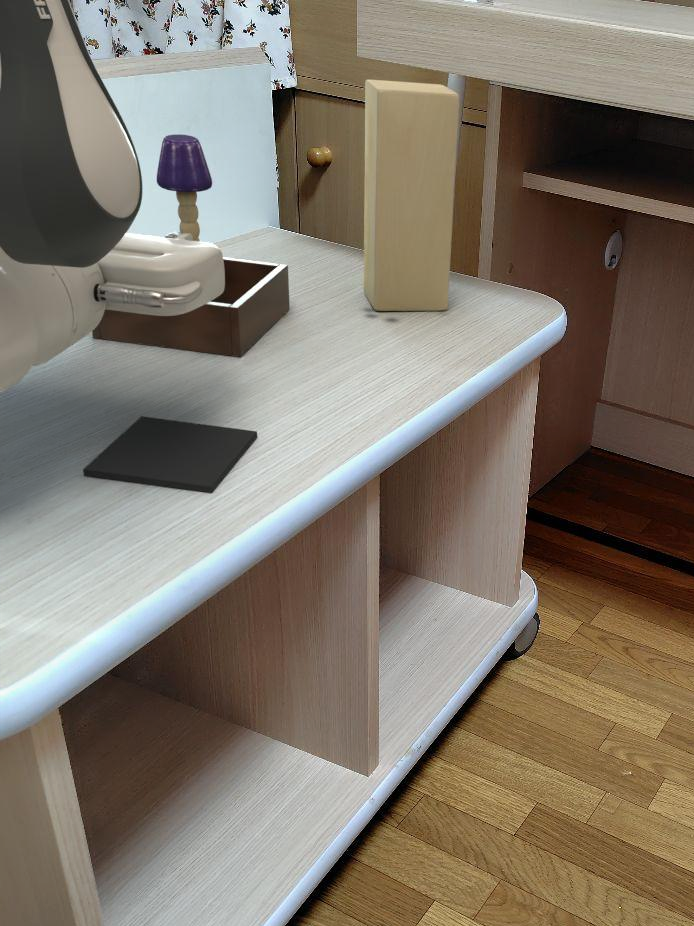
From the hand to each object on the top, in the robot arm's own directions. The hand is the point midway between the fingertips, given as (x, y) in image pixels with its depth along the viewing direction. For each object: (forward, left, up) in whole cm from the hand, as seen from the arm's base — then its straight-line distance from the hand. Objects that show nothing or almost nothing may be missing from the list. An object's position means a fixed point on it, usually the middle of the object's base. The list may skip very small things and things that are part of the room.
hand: (126, 235), depth 78 cm
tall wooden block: (+17, +26, -11) cm, 33 cm away
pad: (+9, -14, -11) cm, 20 cm away
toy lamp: (0, +12, -11) cm, 16 cm away
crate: (0, +12, -11) cm, 16 cm away
